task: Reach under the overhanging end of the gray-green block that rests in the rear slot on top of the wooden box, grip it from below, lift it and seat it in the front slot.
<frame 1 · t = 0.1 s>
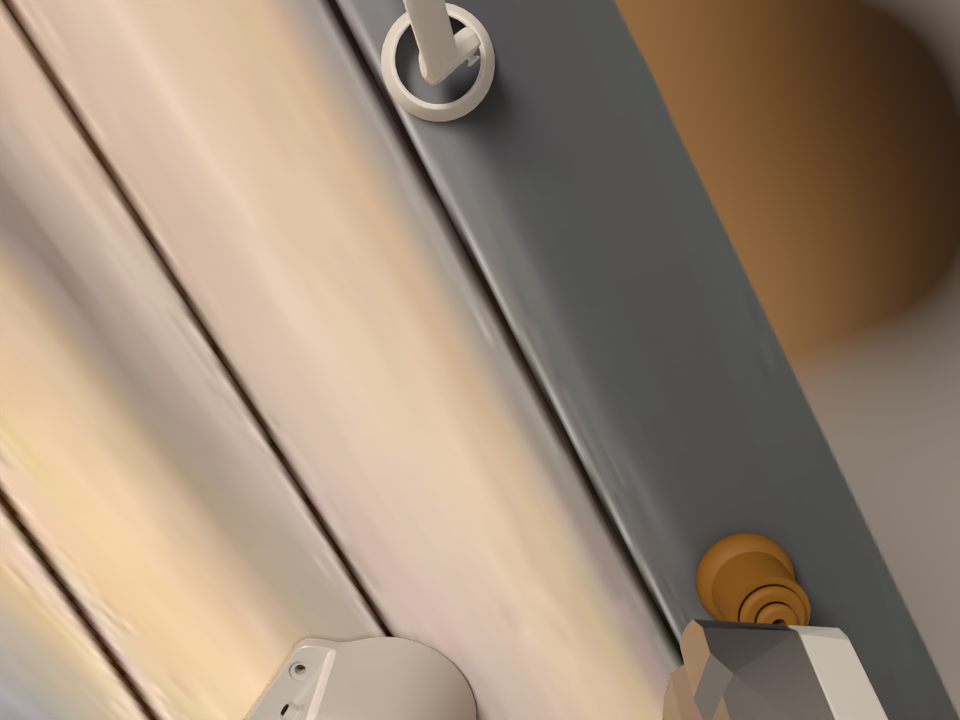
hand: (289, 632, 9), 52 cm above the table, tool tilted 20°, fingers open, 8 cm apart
ornamental finial: (738, 571, 66), on the table
vr controller: (438, 63, 57), on the table
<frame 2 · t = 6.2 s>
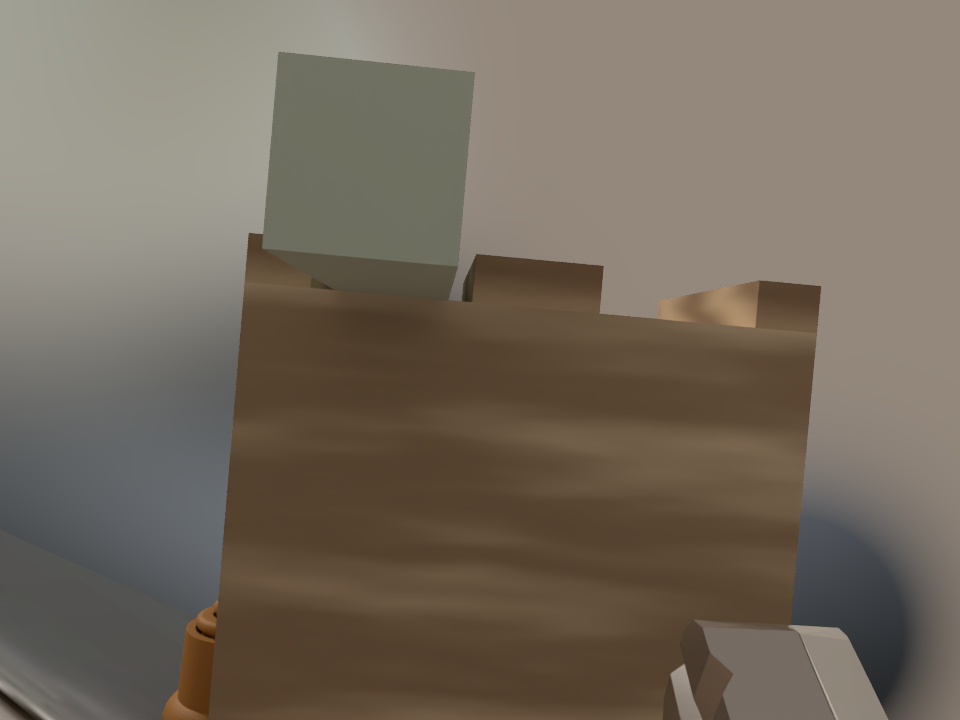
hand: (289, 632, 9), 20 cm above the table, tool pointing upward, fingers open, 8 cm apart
gray-green block: (395, 299, 29), point 25 cm above the table, touching wooden box
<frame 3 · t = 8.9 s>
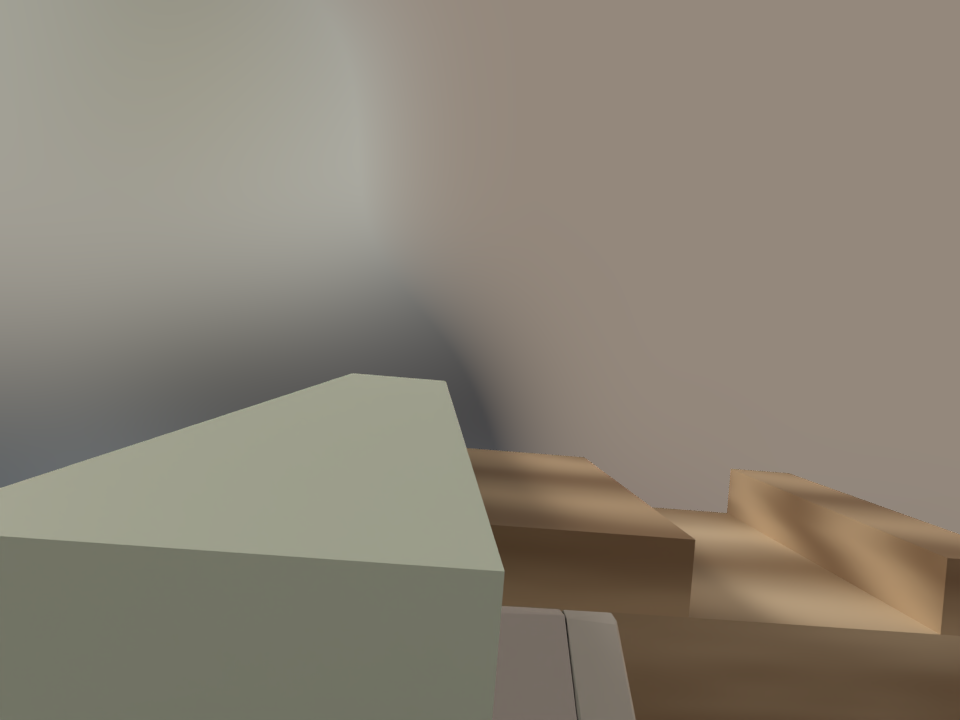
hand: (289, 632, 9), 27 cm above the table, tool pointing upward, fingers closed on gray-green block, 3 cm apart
gray-green block: (359, 560, 18), point 25 cm above the table, touching gripper, wooden box
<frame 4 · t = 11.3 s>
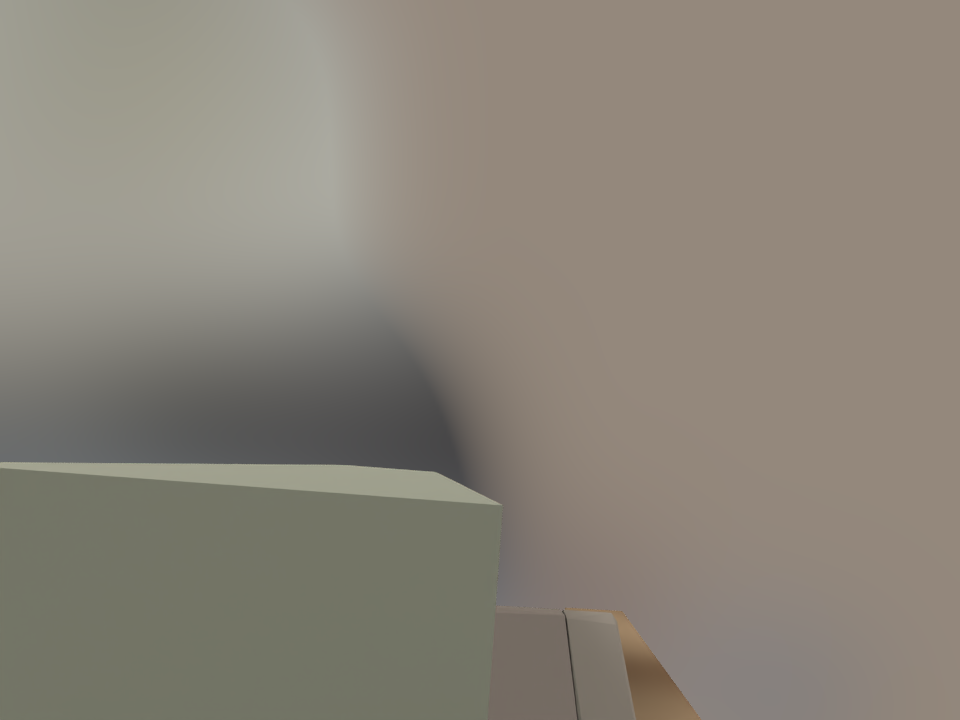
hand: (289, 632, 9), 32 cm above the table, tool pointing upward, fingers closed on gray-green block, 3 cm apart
gray-green block: (350, 635, 18), point 29 cm above the table, tilted 9°, touching gripper
when the fingers open (27 cm above the table, at t = 13.5 s): gray-green block stays where it is, resting on wooden box.
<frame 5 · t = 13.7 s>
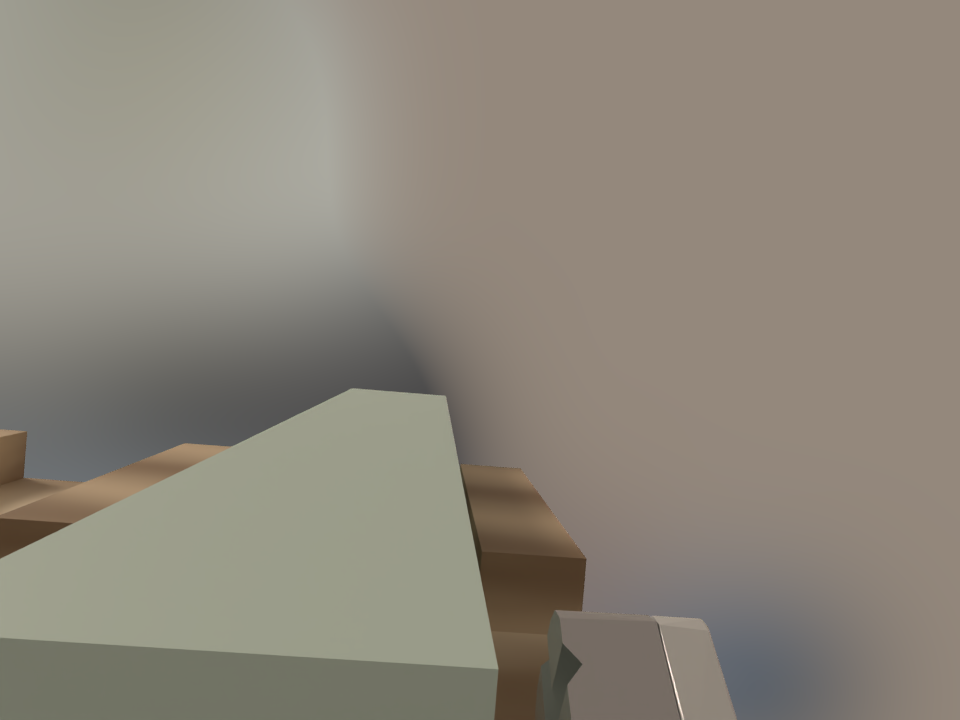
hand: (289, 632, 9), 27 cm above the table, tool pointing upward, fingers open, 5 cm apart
gray-green block: (358, 587, 18), point 25 cm above the table, touching wooden box
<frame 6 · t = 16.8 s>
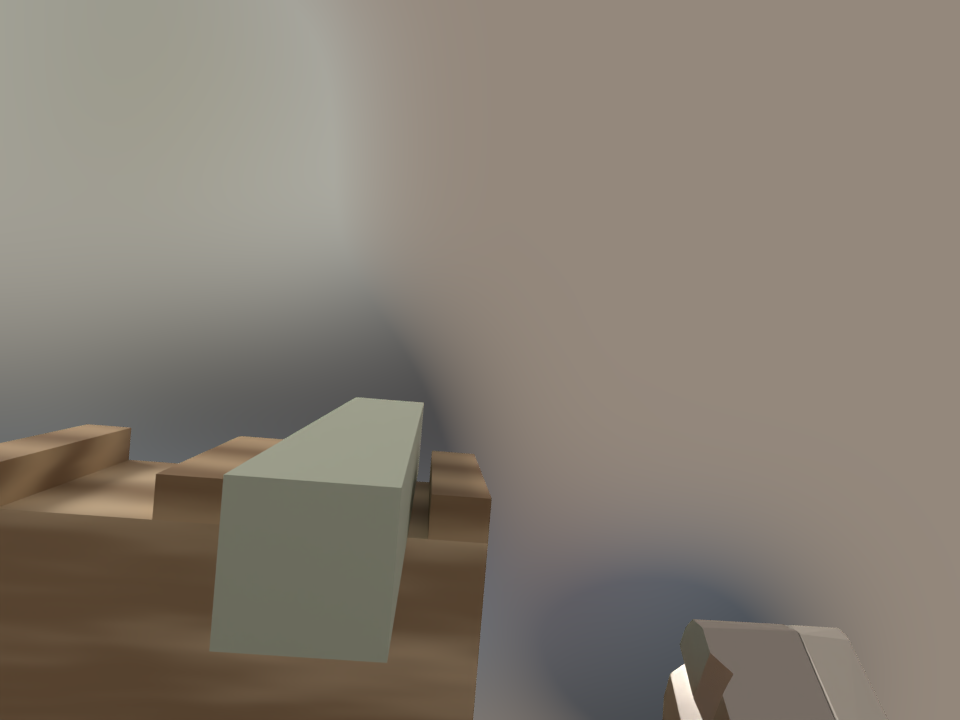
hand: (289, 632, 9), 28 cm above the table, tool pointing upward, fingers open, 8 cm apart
gray-green block: (360, 519, 30), point 25 cm above the table, touching wooden box
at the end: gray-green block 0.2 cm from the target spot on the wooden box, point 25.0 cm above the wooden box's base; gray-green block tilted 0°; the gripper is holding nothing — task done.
